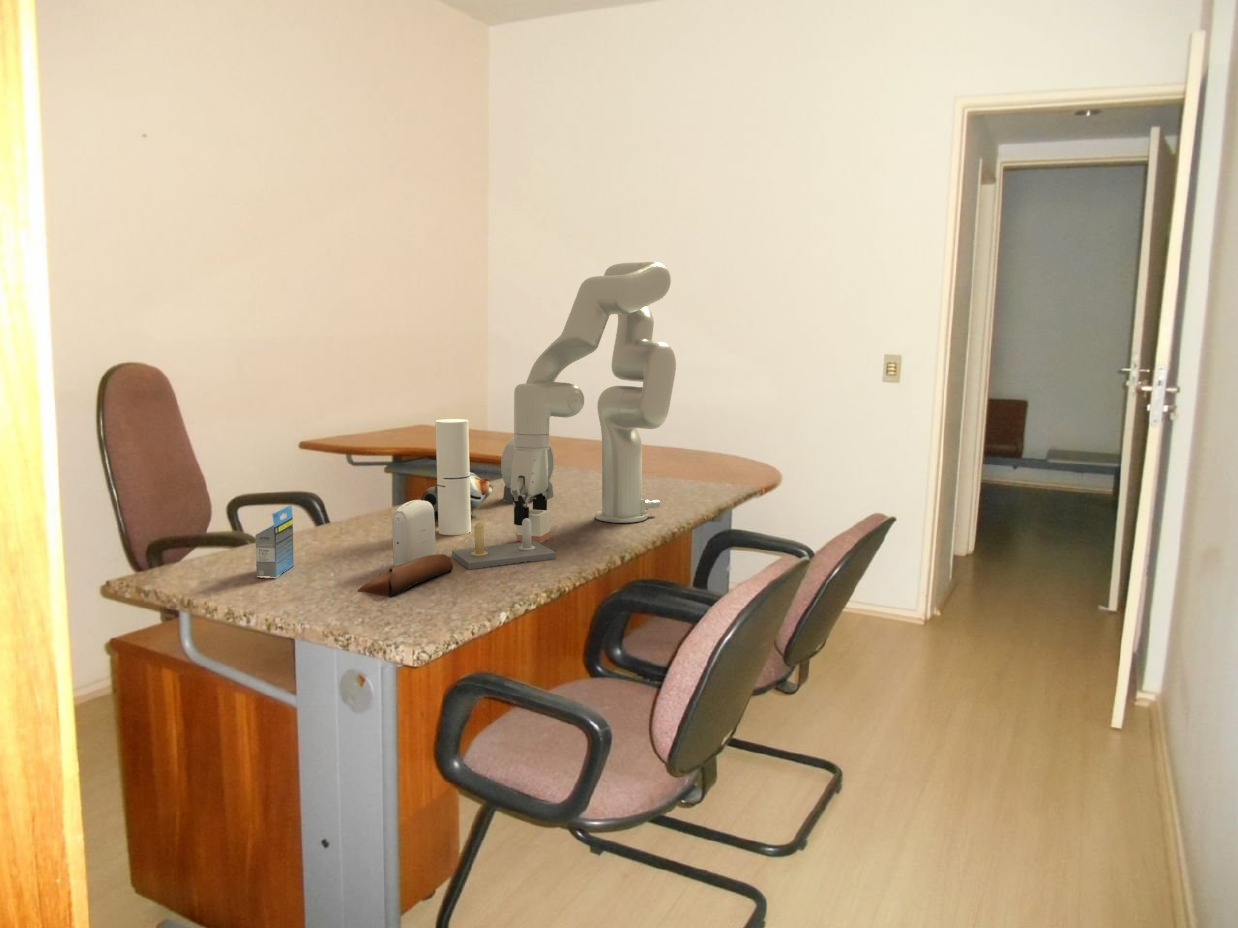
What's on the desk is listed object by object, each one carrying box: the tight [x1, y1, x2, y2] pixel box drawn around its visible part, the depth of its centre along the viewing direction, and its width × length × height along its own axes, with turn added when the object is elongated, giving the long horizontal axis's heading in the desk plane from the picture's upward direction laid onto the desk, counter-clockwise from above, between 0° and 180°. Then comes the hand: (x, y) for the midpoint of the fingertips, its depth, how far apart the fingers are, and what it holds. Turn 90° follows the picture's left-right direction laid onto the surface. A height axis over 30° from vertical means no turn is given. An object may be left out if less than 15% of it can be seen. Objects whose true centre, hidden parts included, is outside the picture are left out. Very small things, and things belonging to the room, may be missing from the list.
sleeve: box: [515, 508, 552, 544], centre depth 199 cm, size 6×6×6 cm
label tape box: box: [254, 504, 295, 577], centre depth 173 cm, size 9×4×12 cm, turn 178°
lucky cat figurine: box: [420, 471, 494, 517], centre depth 222 cm, size 15×12×14 cm
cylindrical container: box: [434, 418, 472, 536], centre depth 205 cm, size 7×7×25 cm
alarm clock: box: [500, 436, 555, 504], centre depth 244 cm, size 16×10×18 cm, turn 144°
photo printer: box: [391, 499, 437, 568], centre depth 179 cm, size 10×4×12 cm, turn 158°
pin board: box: [451, 518, 557, 570], centre depth 184 cm, size 18×11×8 cm, turn 117°
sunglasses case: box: [357, 553, 454, 598], centre depth 167 cm, size 18×7×7 cm, turn 156°
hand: (530, 521), depth 199 cm, fingers open, 9 cm apart
